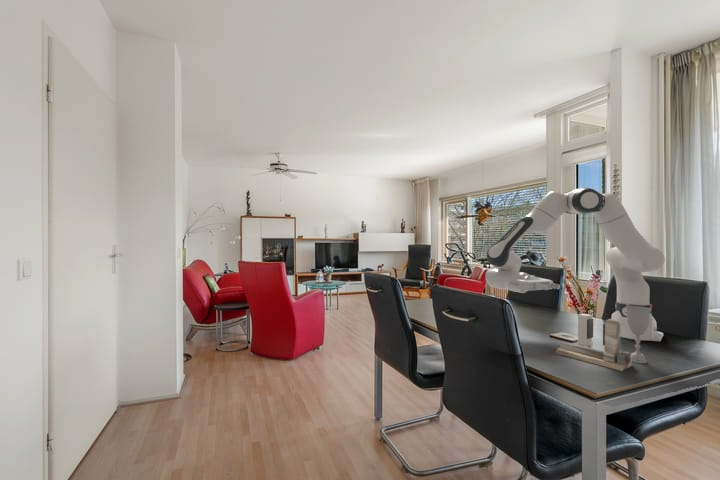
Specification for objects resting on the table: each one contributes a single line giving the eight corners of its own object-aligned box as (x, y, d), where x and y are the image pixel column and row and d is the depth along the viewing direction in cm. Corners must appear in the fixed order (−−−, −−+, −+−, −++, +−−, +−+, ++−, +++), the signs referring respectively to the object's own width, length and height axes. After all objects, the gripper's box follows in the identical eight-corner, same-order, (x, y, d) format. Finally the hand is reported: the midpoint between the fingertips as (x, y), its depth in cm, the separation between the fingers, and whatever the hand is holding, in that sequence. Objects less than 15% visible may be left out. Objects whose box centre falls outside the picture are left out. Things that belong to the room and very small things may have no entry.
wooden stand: (567, 349, 130) (567, 310, 130) (631, 366, 113) (632, 321, 113) (556, 353, 125) (556, 313, 125) (621, 371, 109) (622, 324, 109)
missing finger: (583, 346, 134) (584, 313, 134) (594, 348, 131) (594, 314, 131) (576, 349, 131) (577, 314, 131) (587, 351, 128) (587, 316, 128)
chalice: (619, 357, 122) (619, 305, 122) (637, 356, 123) (638, 305, 123) (637, 364, 115) (637, 309, 115) (656, 364, 115) (657, 309, 115)
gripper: (508, 275, 146) (541, 280, 134) (533, 274, 158) (565, 279, 146) (506, 290, 146) (540, 296, 135) (532, 288, 158) (564, 294, 147)
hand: (553, 287), depth 141 cm, fingers open, 8 cm apart
